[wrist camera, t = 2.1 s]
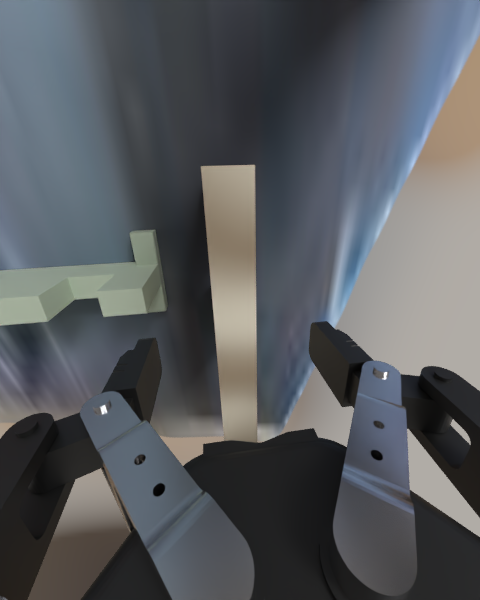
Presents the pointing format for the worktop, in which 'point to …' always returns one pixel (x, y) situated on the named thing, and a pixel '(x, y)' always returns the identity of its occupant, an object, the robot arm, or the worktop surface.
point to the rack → (87, 286)
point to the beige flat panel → (233, 292)
